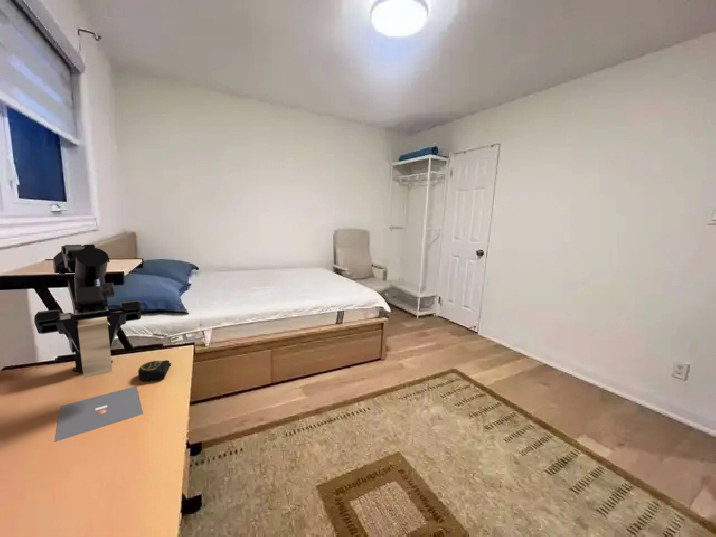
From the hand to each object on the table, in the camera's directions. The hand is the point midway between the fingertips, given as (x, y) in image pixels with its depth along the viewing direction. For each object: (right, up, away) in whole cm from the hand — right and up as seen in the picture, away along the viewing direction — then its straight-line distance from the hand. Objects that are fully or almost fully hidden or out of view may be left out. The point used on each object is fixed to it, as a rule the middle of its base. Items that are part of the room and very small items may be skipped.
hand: (95, 348), depth 70 cm
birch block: (-1, -6, +2) cm, 6 cm away
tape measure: (+4, -12, +15) cm, 19 cm away
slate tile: (+2, -14, -1) cm, 14 cm away
